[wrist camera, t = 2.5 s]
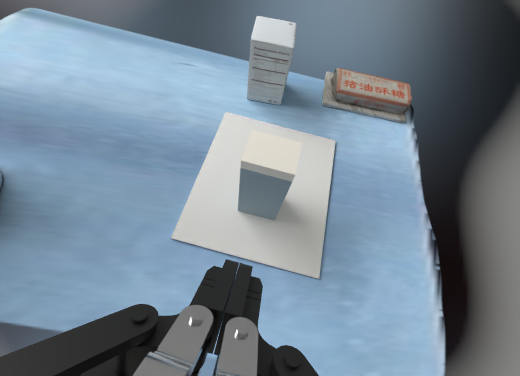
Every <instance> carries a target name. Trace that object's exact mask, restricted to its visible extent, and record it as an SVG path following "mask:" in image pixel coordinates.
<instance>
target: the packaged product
mask: <svg viewBox="0 0 520 376" xmlns="http://www.w3.org/2000/svg"><path fill="white" fill-rule="evenodd" d="M411 99H412V97H411V89H410V85H409V84H407V83H403V82H399V81H394V80H390V79H386V78H381V77H378V76H373V75H368V74H364V73H359V72H354V71H350V70H346V69H342V68H337V69H336V70H335V72H334V73H331V72H326V76H325V83H324V91H323V97H322V105H324V106H328V107H333V108H340V109H343V110H346V111H351V112H355V113H359V114H363V115H367V116H371V117H377V118H382V119H387V120H392V121H396V122H400V123H405V122H406V119H405V112H407V111H408V110H409V108H410V103H411Z"/></svg>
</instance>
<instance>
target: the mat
mask: <svg viewBox="0 0 520 376" xmlns="http://www.w3.org/2000/svg"><path fill="white" fill-rule="evenodd" d="M251 130H256V131H260V132H263V133H267V134H271V135H275V136H279V137H283V138H286V139H290V140H294V141H298V142H302V146H301V150H300V155H299V160H298V165H297V170H296V175H295V177H294V179H293V181H292V184H291V186H290V188H289V190H288V192H287V195H286V197H285V199H284V201H283V203H282V206H281V208H280V210H279V212H278V214H277V217H276V219H275V221H274V220H270V219H266V218H263V217H259V216H255V215H252V214H248V213H244V212H240V211H238V197H239V182H240V166H241V159H242V156H243V153H244V150H245V147H246V144H247V141H248V138H249V135H250V133H251ZM334 149H335V140H331V139H327V138H323V137H319V136H315V135H312V134H308V133H304V132H300V131H296V130H293V129H289V128H285V127H281V126H277V125H273V124H270V123H266V122H262V121H258V120H254V119H251V118H247V117H243V116H239V115H235V114H231V113H228V112H226V113H225V115H224V117H223V120H222V122H221V124H220V126H219V129H218V131H217V133H216V136H215V138H214V140H213V143H212V145H211V147H210V149H209V152H208V154H207V156H206V159H205V161H204V163H203V166H202V168H201V170H200V172H199V175H198V177H197V179H196V182H195V184H194V186H193V189H192V191H191V193H190V195H189V198H188V200H187V202H186V205H185V207H184V209H183V212H182V214H181V216H180V219H179V221H178V223H177V225H176V228H175V230H174V232H173V235H172V237H171V239H174V240H178V241H182V242H185V243H189V244H193V245H196V246H200V247H203V248H207V249H211V250H214V251H218V252H222V253H225V254H229V255H233V256H236V257H240V258H244V259H247V260H251V261H254V262H258V263H262V264H265V265H269V266H273V267H276V268H280V269H284V270H287V271H291V272H295V273H298V274H302V275H306V276H309V277H313V278H316V279H319V275H320V267H321V258H322V250H323V241H324V233H325V225H326V216H327V208H328V200H329V191H330V183H331V174H332V166H333V158H334Z"/></svg>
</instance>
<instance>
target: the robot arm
mask: <svg viewBox="0 0 520 376" xmlns="http://www.w3.org/2000/svg"><path fill="white" fill-rule="evenodd" d="M1 185H2V174H1V172H0V188H1ZM238 265H239V263H238V262H234V261H231V260H227V259H226V261H225V263H224V266H223V268H220V267H216V266H213V267H212V268H210V269H209V270H207V272H206V274H205V276H204V279H203V280H202V282H201V284H200V286H199V288H198V290H197V292H196V294H195V296H194V298H193V300H192V302H191V304H190V305H189V306H188V307H186V308H185V309H183V310H182V312H181V313H180V314H177V315H173V316H158V312H157V310H156V309H155V308H154V307H152V306H150V305H147V304H138V305H134V306H131V307H128V308H126V309H123V310H121V311H118V312H115V313H113V314H110V315H108V316H105V317H103V318H100V319H97V320H95V321H92V322H90V323H87V324H84V325H82V326H79V327H77V328H74V329H72V330H69V331H66V332H64V333H61V334H59V335H56V336H54V337H51V338H48V339H46V340H43V341H41V342H38V343H36V344H33V345H30V346H28V347H25V348H22V349H20V350H18V351H15V352H12V353H9V354H7V355H4V356H2V357H0V376H199V374H200V371H201V368H202V366H203V364H204V362H205V359H206V356H207V353H211V354H212V353H213V350H214V347H215V344H216V340H217V337H218V340H217V344H216V348H215V352H214V354H215V355H218V357H217V361H216V364H215V368H214V372H213V376H319V375H318V374H317V373H316V371H315V370H314V369H313V367H312V366H311V364H310V363H309V362H308V360H307V359H306V358H305V356H304V355H303V354H302V353H301V352H300V351H299V350H298V349H296V348H294V347H292V346H287V345H284V346H280V347H279V348H277V349H276V348H274V347H273V346H271V345H269V344H268V343H267V342H266V341H264V339H263V338H262V337H261V335H260V334H259V331H258V318H259V310H260V303H261V294H262V288H263V286H262V283H261V281H260V279H259V278H256V277H252V276H251V272H252V268H253V266H249V265H245V264H242V263H240V265H239V268H238ZM237 269H238V271H237ZM236 272H237V274H236ZM235 276H236V278H235ZM234 280H235V281H234ZM221 324H222V325H221ZM220 327H221V329H220ZM219 331H220V333H219ZM218 334H219V336H218Z"/></svg>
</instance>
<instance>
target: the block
mask: <svg viewBox="0 0 520 376" xmlns="http://www.w3.org/2000/svg"><path fill="white" fill-rule="evenodd" d="M301 146H302V142H298V141H294V140H290V139H286V138H283V137H279V136H275V135H271V134H267V133H263V132H260V131H256V130H251V133H250V135H249V138H248V141H247V144H246V147H245V150H244V153H243V156H242V159H241V166H240V182H239V197H238V211H240V212H244V213H248V214H252V215H255V216H259V217H263V218H266V219H270V220H274V221H275V219H276V217H277V214H278V212H279V210H280V208H281V206H282V203H283V201H284V199H285V197H286V195H287V192H288V190H289V188H290V186H291V184H292V181H293V179H294V177H295V175H296V170H297V165H298V160H299V155H300V150H301Z"/></svg>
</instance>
